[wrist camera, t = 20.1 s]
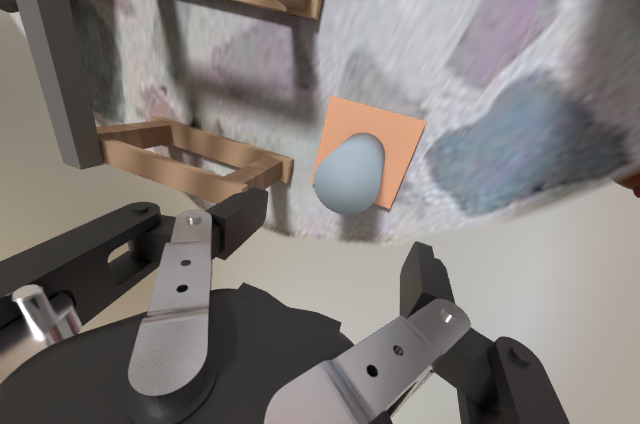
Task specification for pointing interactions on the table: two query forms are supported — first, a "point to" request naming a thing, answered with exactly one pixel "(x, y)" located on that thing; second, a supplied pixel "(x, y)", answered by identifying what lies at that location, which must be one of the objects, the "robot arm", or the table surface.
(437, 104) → the table surface
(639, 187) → the potted flower
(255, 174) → the gantry
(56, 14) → the bar
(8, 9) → the brown pointed rock
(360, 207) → the grey-blue cylinder
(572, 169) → the table surface
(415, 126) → the terracotta tile
